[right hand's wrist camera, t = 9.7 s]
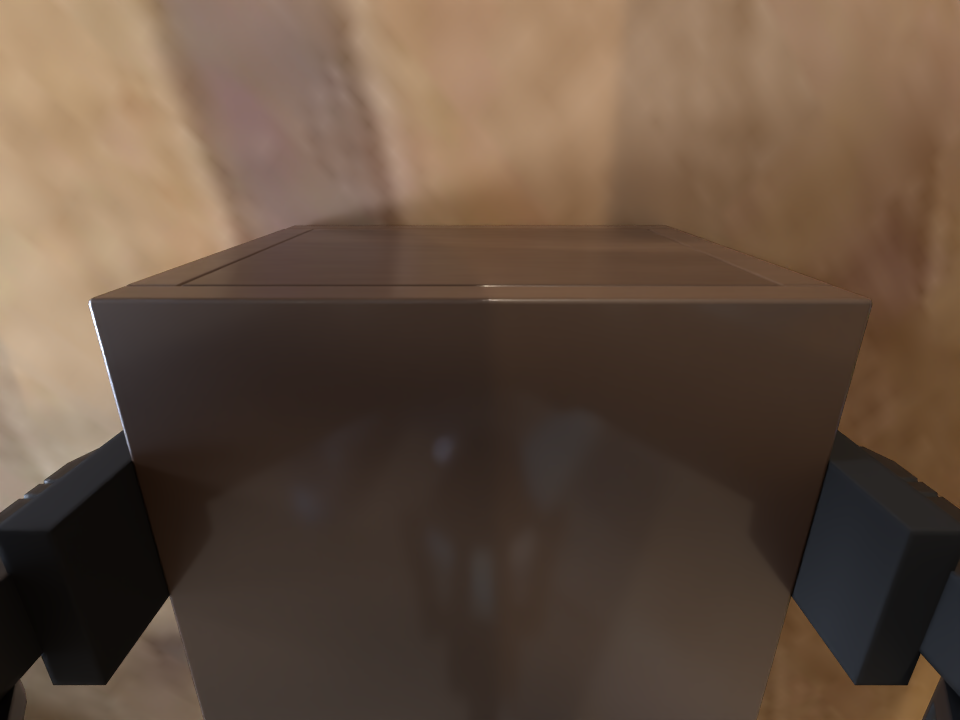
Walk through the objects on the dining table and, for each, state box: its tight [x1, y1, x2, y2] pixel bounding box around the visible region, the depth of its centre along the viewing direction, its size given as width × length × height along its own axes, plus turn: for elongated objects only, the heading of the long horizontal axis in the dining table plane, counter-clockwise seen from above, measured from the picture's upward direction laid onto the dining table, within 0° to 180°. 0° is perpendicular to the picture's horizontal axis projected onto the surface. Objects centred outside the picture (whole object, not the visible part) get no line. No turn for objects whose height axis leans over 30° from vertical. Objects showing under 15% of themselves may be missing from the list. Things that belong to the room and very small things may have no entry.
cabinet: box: [89, 226, 872, 720], centre depth 14 cm, size 18×11×8 cm, turn 0°
